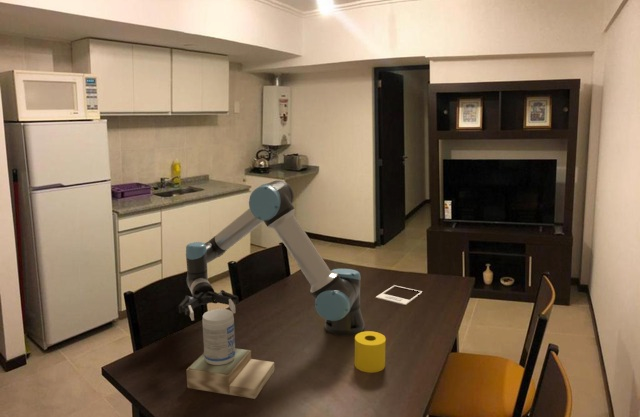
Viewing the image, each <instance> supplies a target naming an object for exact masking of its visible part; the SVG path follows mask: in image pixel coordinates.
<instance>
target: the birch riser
mask: <svg viewBox="0 0 640 417" xmlns="http://www.w3.org/2000/svg"><path fill="white" fill-rule="evenodd" d="M185 370H186V384H187V388H188V389H193V390H199V391H205V392H211V393H217V394H223V395H229V396H237V397H242V398H246V399H254V400H256V398H257V397H258V395H259V394H260V392H261V391H262V390H263V388H264V387H265V385H267V383H268V380H269V379H270V378H271V377H272V375H273V374H274V372H275V362H274V361H268V360H260V359H253V358H252V350H250V349H242V348H237V347H235V358H234V359H233V360H232V361H231V362H229V363H227V364H223V365H211V364H209V363H207V362H206V361H205V358H204V352H203V353H202V354H201V355H200V356H199V357H198V358H197V359H196V360H194V361H193V363H192V364H191V365H189V366H188V367H187V369H185Z"/></svg>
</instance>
